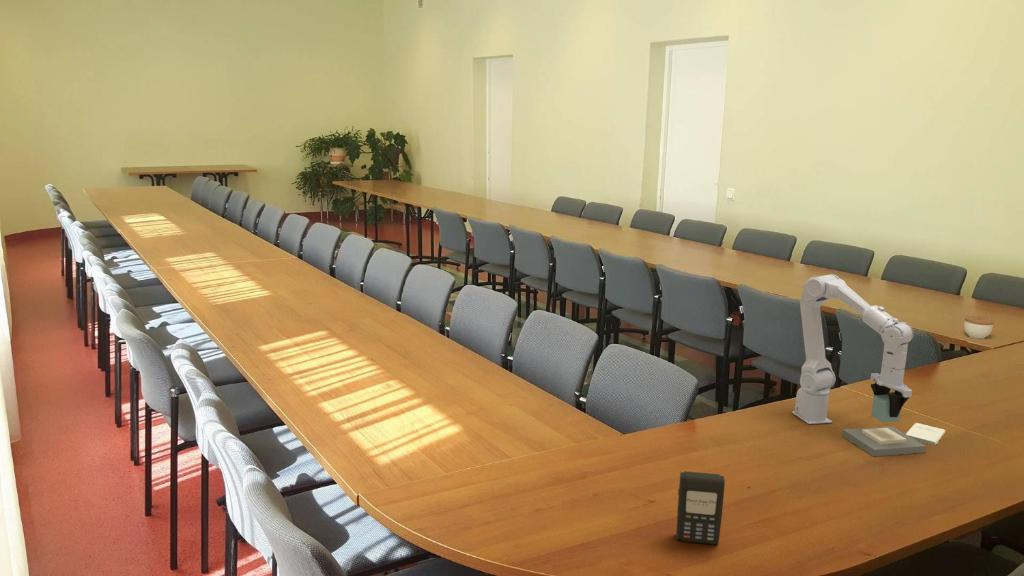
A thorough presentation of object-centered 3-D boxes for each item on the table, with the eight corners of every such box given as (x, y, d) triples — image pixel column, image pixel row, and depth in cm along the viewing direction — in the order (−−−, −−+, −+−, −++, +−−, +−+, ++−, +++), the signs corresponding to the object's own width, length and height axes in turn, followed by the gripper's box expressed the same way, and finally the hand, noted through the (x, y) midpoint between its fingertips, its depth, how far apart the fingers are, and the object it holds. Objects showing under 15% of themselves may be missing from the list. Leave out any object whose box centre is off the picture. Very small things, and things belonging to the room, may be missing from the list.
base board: (842, 435, 224) (843, 426, 223) (891, 432, 227) (892, 423, 226) (873, 456, 210) (874, 446, 210) (925, 452, 213) (926, 442, 213)
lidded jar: (965, 338, 329) (968, 317, 327) (959, 332, 339) (963, 311, 337) (994, 341, 326) (997, 319, 324) (987, 334, 336) (991, 313, 334)
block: (871, 415, 219) (873, 395, 217) (887, 414, 220) (889, 394, 218) (883, 422, 214) (885, 401, 213) (899, 421, 215) (901, 400, 214)
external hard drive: (903, 439, 224) (914, 427, 233) (935, 447, 219) (945, 434, 228) (904, 434, 223) (915, 422, 233) (936, 442, 218) (945, 429, 228)
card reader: (675, 542, 165) (680, 477, 162) (674, 533, 169) (679, 469, 166) (719, 547, 164) (725, 481, 161) (717, 537, 168) (723, 473, 164)
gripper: (863, 358, 220) (857, 404, 223) (898, 375, 206) (891, 423, 209) (885, 357, 221) (879, 403, 224) (921, 374, 207) (914, 422, 210)
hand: (886, 413), depth 217 cm, fingers closed on block, 5 cm apart
